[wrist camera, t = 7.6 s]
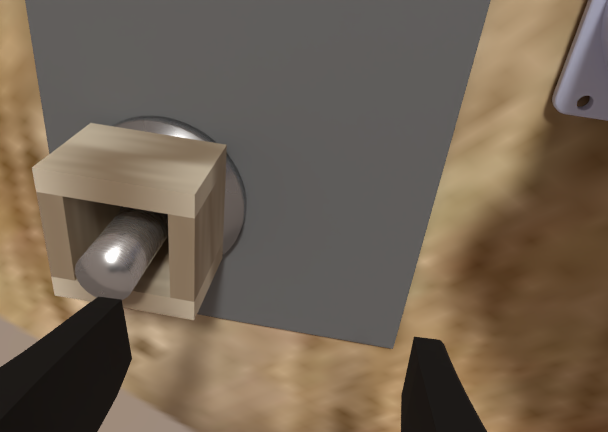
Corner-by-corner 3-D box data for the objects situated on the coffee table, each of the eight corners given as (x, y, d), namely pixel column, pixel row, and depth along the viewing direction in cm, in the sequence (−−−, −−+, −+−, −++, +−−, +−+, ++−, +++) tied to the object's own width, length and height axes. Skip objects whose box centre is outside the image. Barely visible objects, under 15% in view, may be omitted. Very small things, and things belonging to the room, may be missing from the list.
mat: (622, -484, 12) (629, -495, 12) (392, 342, 26) (392, 348, 25) (-51, -544, 13) (-63, -556, 12) (75, 286, 26) (71, 291, 26)
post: (251, 130, 20) (208, 205, 15) (242, 272, 24) (205, 369, 19) (77, 103, 21) (-19, 167, 16) (94, 247, 24) (21, 335, 20)
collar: (226, 144, 20) (194, 194, 17) (222, 257, 23) (194, 320, 20) (90, 122, 20) (32, 167, 17) (102, 237, 23) (54, 295, 20)
